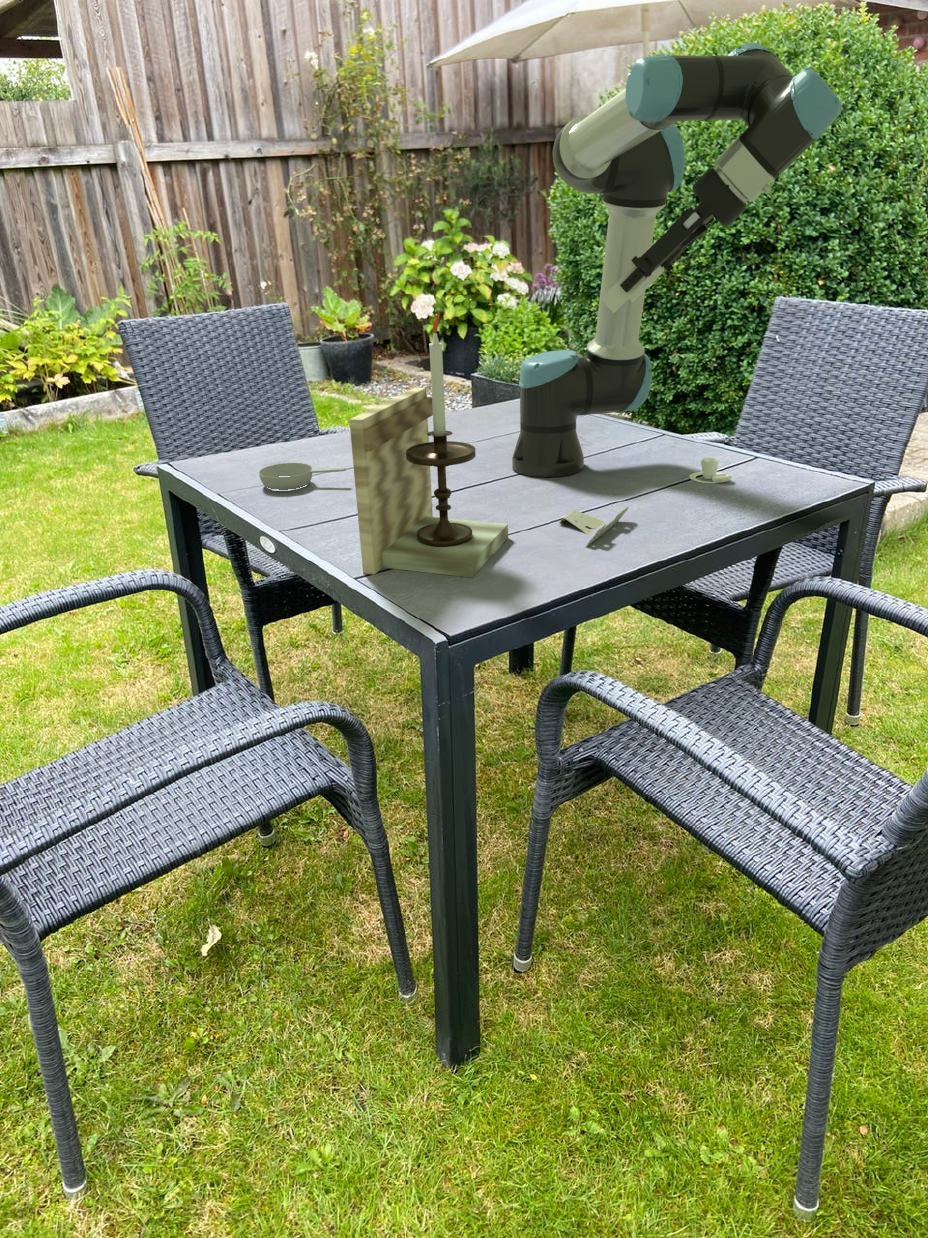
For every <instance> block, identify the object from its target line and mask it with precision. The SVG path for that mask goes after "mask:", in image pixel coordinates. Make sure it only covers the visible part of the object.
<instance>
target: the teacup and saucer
mask: <svg viewBox="0 0 928 1238" xmlns="http://www.w3.org/2000/svg"><path fill="white" fill-rule="evenodd" d="M700 462H701V463H700V465H701V471H697V472H693V473H691V474H689V476H688V477H689V480H692V481H694V482H697V483H700V484H701V483H703V484H721V483H726V482H729V481H731V480H732V475H731V474H728V473H723V472H720V471H719V472H718V467H719V462H720V461H719V459H718V458H715V457H705V458H703V459H701V461H700ZM701 475H702V477H703V479H704V480H700V479H698V478H696V477H697V476H701ZM705 480H712V481H705Z"/></svg>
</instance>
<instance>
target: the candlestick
mask: <svg viewBox="0 0 928 1238" xmlns="http://www.w3.org/2000/svg"><path fill="white" fill-rule="evenodd" d="M440 315H441V314H440V311H437V315H436V316H435V319H434V322H433V325H432V332H433V334H432V335H433V337H432V341H431V343H429V344H428V345H429V363H430V364H429V365H430V383H431V384H430V385H431V397H432V407H433V415H432V425H433V431H428V433H427V435H428V436H429V437H432V438H433V441H429V442H428V443H422V444H418V445H414V446H412V447H410V448H408V449H407V450H406V459H407V461H409V462H411V463H413V464H417V465H423V466H430V467H434V468H436V469H437V470H436V471H437V472H436V473H437V486H438V487H437V488H436V489H435V490H433V494H434V497H435V499H437V502H438V503H437V505H436V506H435V510H436V511H438V512H439V513H438V515H439V518H440V520H439V522H438V523H435V524H430V525H427V526H424V527H422V528H420V529H419V530H418V531H417V540H418V541H419V542H420V543H422V544H424V545H427V546H433V547H451V546H457V545H461V544H464V543H466V542H468V541H470V540H471V539H472V529H471V528H470V527H469V526H467V525H464V524H459V523H450V522H449V520H448V518H449V514H448V513H449V512H448V511H450V510H451V508H452V507H451V504H449V501H448V499H450V497H451V495H452V490H451V489H450V488H448V486H447V468H446V467H449V466H454V465H460V464H465V463H467V462H470V461H472V460H474V459H475V458H476V447H475V446H474V445H472V444H470V443H466V442H462V441H450V440H449V441H448V438H447V437H449V436H451V435H453V432H452V431H451V430H450V431H449V430H447V429H446V405H445V388H444V387H445V385H444V384H445V382H444V381H445V380H444V363H443V362H444V361H443V343H442V342H440V340H439V337H438V333H437V332H438V328H439V323H440V322H439V321H440V318H441V317H440Z"/></svg>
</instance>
